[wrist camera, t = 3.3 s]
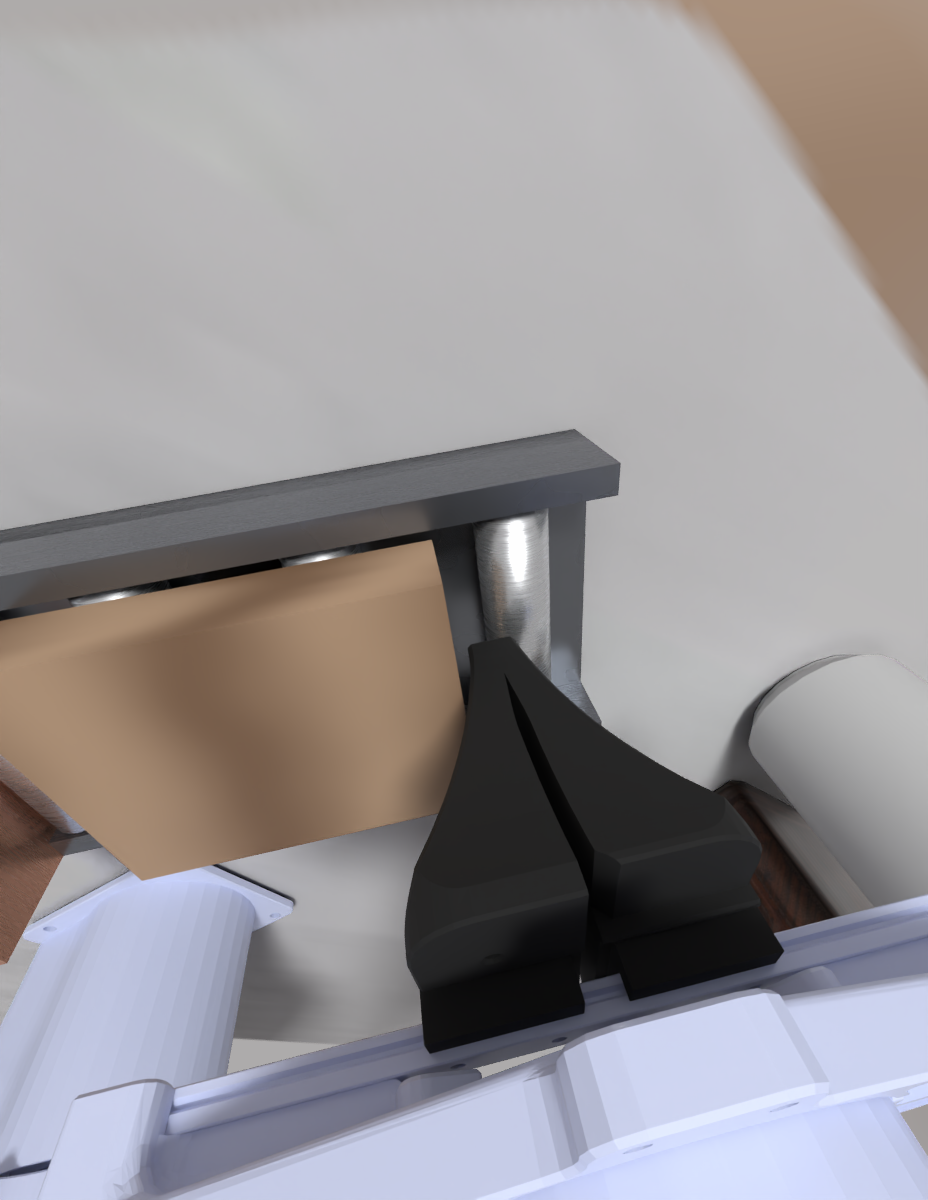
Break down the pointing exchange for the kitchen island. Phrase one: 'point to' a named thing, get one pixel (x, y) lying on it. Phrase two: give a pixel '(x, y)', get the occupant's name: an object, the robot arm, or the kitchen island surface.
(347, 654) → the tan flat block
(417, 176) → the kitchen island surface
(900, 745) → the can
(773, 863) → the manual coffee grinder
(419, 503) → the roller bed
